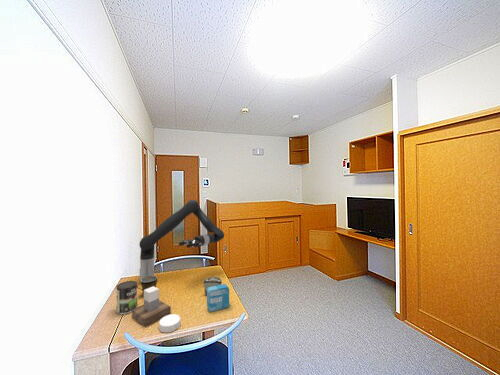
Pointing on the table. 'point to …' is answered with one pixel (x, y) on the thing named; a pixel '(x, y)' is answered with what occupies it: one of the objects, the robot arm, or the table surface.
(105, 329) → the table surface
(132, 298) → the coffee can
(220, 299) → the data package
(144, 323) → the walnut stand
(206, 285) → the food container
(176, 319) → the coaster
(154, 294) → the block
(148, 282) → the ceramic cup
